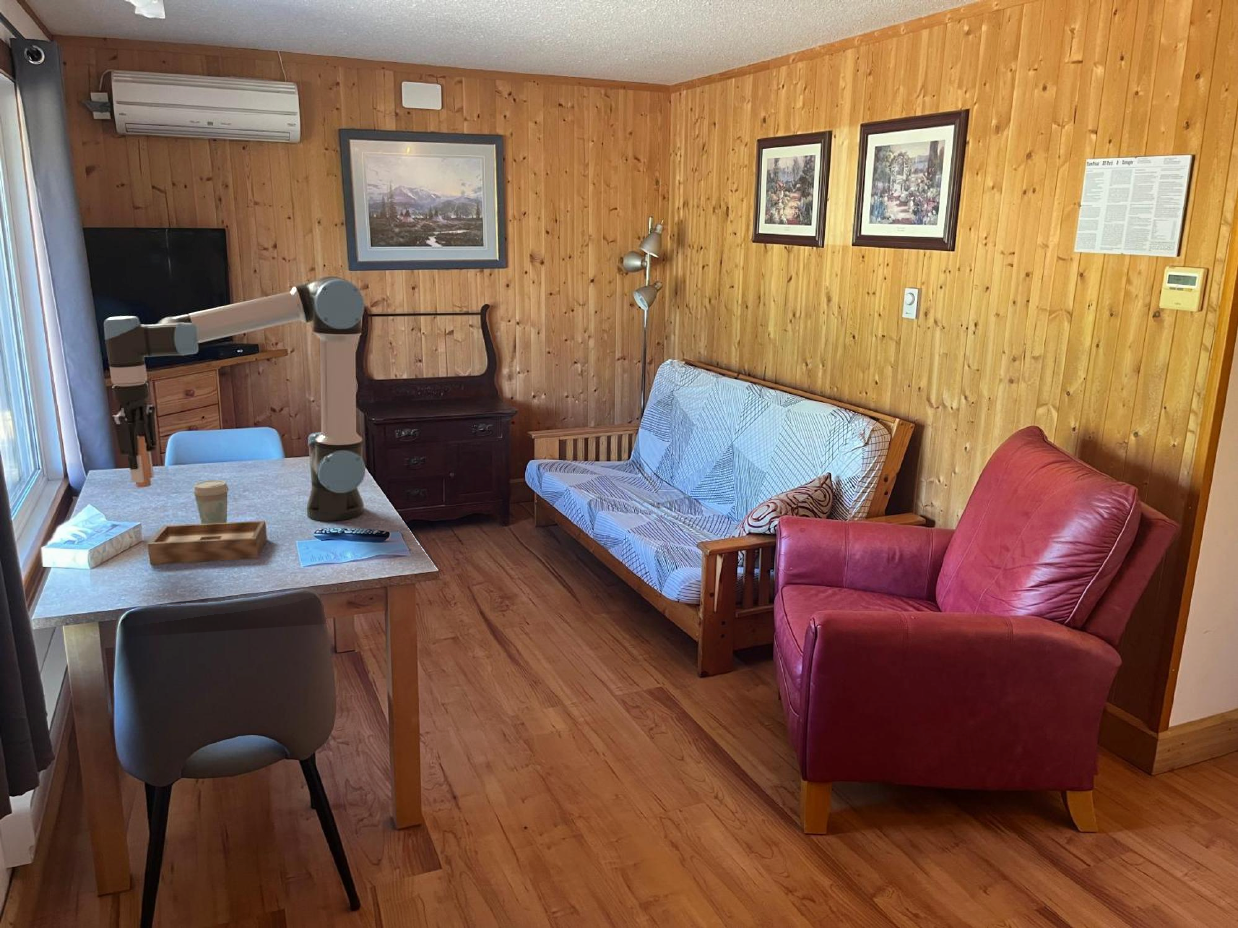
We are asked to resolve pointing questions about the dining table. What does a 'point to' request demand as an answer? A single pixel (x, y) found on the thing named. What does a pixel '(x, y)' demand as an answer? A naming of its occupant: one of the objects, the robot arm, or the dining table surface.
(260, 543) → the crate
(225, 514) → the coffee cup
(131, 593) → the dining table surface
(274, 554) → the dining table surface
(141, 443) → the peg
